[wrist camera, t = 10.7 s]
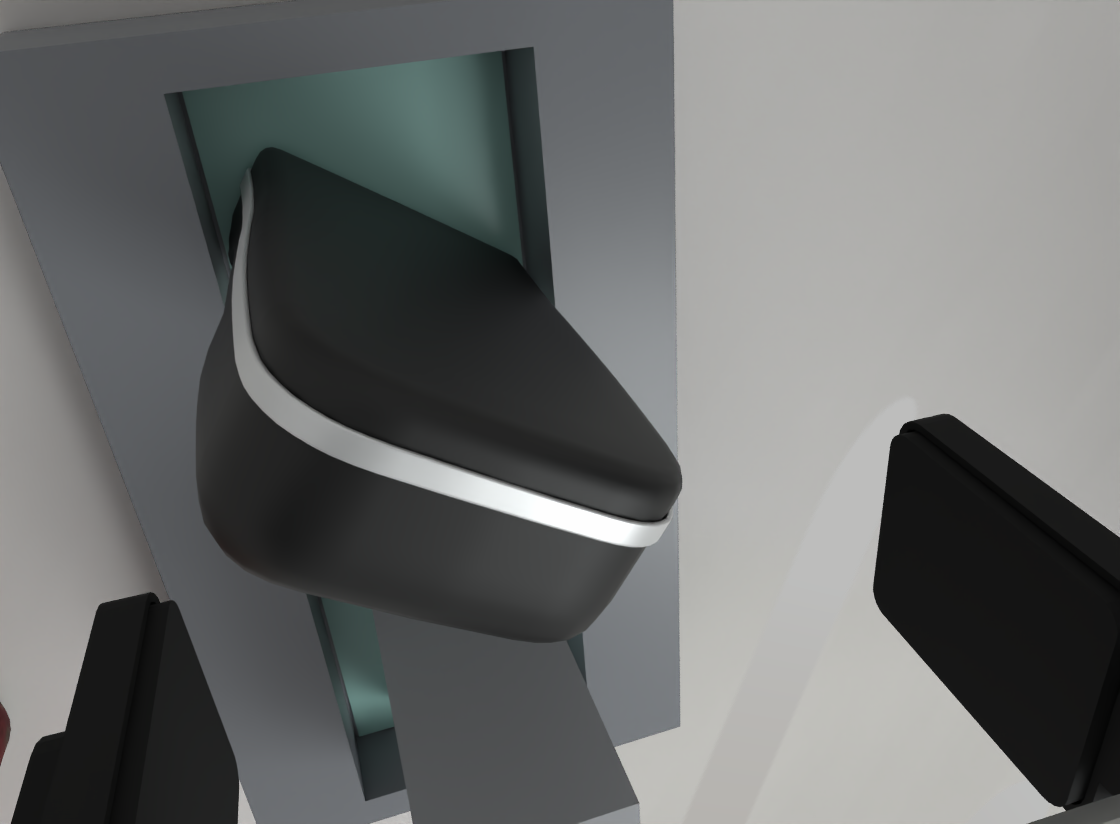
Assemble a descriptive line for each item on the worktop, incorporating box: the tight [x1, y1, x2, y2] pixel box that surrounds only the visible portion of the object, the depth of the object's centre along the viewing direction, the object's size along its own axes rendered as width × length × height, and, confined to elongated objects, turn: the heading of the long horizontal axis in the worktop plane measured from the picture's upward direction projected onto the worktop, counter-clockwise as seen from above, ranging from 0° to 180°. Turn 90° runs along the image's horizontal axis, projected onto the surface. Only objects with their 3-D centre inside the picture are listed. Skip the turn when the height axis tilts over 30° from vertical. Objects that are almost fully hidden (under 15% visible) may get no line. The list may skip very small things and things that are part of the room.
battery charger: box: [196, 147, 682, 643], centre depth 17 cm, size 7×4×11 cm, turn 60°
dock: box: [0, 0, 680, 824], centre depth 20 cm, size 13×22×13 cm, turn 4°
